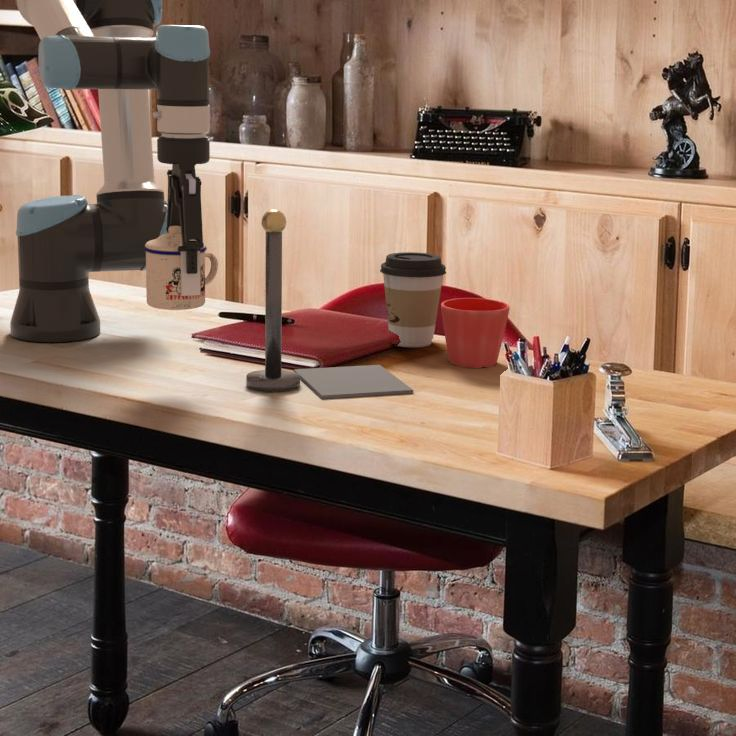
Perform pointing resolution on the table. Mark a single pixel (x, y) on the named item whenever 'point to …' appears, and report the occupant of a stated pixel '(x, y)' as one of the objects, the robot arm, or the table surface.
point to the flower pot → (474, 330)
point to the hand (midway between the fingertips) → (184, 288)
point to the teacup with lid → (173, 273)
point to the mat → (352, 381)
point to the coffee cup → (412, 295)
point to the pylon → (273, 314)
